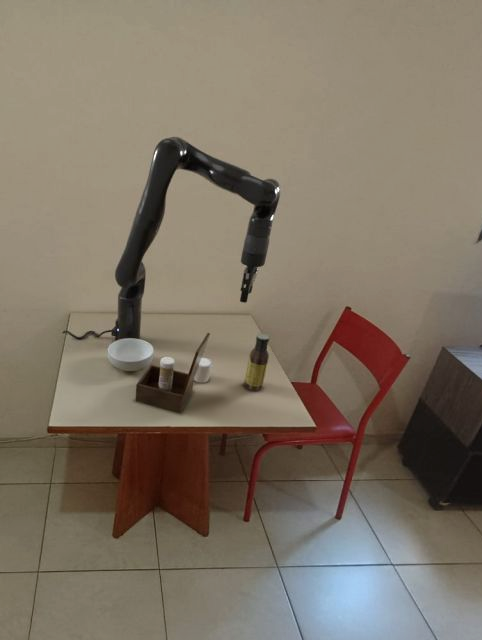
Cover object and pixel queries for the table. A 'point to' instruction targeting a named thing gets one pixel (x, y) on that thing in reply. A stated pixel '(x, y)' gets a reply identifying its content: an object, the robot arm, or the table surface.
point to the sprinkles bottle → (166, 373)
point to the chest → (159, 398)
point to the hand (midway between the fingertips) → (245, 297)
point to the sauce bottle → (257, 363)
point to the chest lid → (195, 363)
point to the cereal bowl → (130, 354)
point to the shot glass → (203, 370)
